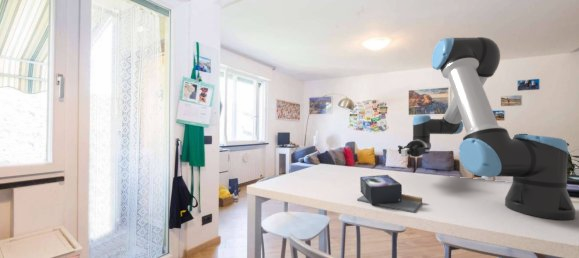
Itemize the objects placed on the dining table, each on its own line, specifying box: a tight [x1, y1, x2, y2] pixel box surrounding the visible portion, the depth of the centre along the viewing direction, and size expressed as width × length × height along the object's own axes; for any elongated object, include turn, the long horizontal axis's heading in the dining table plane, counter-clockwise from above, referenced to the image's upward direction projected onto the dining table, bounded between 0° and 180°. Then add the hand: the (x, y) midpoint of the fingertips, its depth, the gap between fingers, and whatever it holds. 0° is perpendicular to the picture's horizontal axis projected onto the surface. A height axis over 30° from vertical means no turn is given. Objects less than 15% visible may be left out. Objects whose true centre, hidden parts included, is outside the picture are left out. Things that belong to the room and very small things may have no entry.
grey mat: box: [356, 193, 423, 214], centre depth 84 cm, size 18×12×2 cm, turn 50°
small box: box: [359, 174, 403, 205], centre depth 85 cm, size 11×6×10 cm
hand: (403, 153), depth 96 cm, fingers closed
